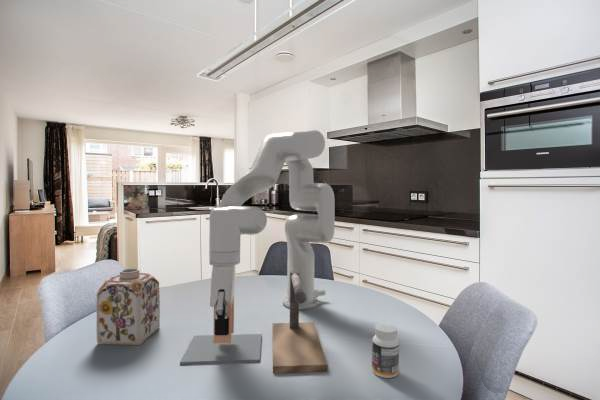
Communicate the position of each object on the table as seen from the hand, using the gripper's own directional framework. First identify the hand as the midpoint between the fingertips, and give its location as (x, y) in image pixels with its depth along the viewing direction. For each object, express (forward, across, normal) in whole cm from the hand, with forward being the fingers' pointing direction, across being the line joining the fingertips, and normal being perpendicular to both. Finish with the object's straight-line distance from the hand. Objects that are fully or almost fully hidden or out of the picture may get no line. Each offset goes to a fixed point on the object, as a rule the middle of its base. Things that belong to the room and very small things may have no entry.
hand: (224, 327), depth 84 cm
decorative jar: (+6, -10, -26) cm, 29 cm away
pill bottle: (+6, +13, +37) cm, 39 cm away
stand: (+5, 0, +18) cm, 19 cm away
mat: (+6, 0, 0) cm, 6 cm away
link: (+2, 0, 0) cm, 2 cm away
